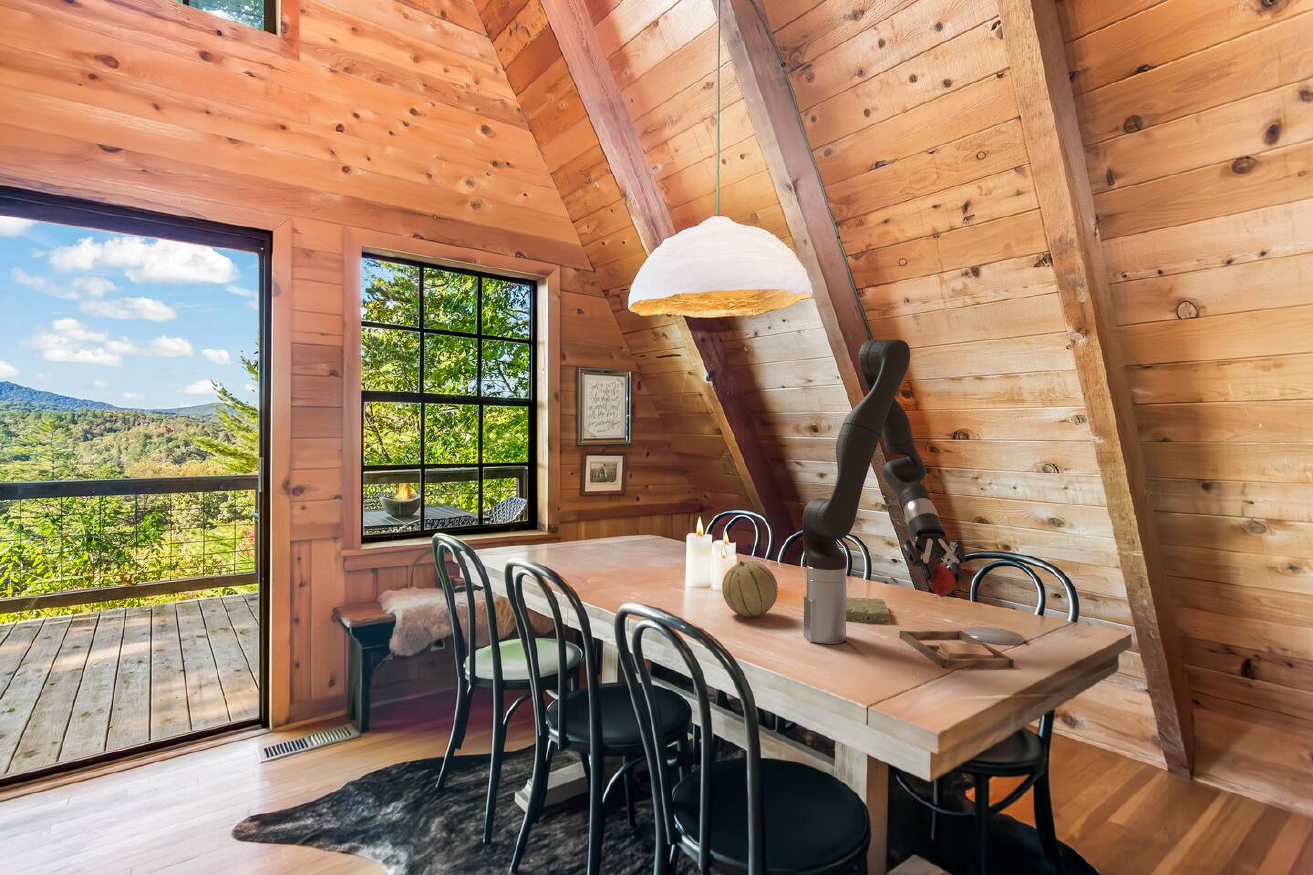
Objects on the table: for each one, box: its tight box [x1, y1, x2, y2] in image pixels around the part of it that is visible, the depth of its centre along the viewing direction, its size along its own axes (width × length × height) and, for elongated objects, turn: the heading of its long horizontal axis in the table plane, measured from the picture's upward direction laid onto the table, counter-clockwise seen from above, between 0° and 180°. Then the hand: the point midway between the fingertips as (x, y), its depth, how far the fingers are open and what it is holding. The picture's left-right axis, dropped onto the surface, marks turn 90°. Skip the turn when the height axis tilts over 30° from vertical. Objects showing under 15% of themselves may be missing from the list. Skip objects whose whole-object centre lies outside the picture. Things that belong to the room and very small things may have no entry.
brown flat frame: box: [899, 630, 1014, 669], centre depth 156 cm, size 15×22×2 cm
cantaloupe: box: [721, 560, 779, 618], centre depth 187 cm, size 15×15×15 cm
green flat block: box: [846, 596, 892, 625], centre depth 191 cm, size 19×20×4 cm
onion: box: [928, 561, 957, 598], centre depth 161 cm, size 6×6×8 cm
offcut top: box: [938, 642, 994, 659], centre depth 150 cm, size 9×7×1 cm
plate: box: [963, 626, 1025, 646], centre depth 167 cm, size 13×13×1 cm
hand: (945, 579), depth 159 cm, fingers closed on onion, 6 cm apart
